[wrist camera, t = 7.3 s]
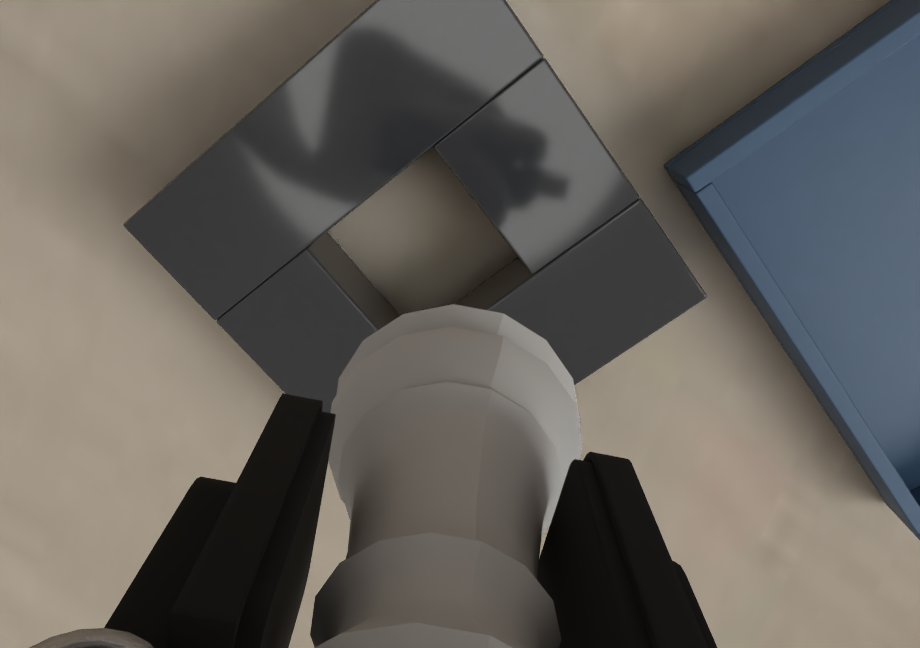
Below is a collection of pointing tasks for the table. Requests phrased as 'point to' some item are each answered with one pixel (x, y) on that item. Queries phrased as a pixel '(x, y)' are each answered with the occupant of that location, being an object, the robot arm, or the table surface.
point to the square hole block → (381, 159)
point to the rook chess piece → (447, 484)
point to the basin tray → (833, 233)
